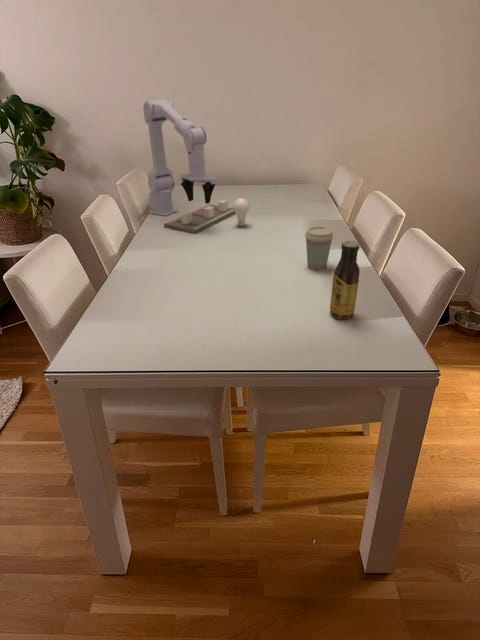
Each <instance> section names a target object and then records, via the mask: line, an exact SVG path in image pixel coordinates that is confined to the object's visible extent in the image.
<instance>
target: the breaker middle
mask: <svg viewBox="0 0 480 640" xmlns="http://www.w3.org/2000/svg"><path fill="white" fill-rule="evenodd" d="M212 217H214V207H211V206H208V207H206V208H204V218H208V219H210V218H212Z"/></svg>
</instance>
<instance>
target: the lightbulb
mask: <svg viewBox="0 0 480 640" xmlns="http://www.w3.org/2000/svg"><path fill="white" fill-rule="evenodd" d="M232 208H233V210H234V212H235V213H236V214H235V215H236V218H237V225H238V226H239V227H241V228H242V227H244V226H245V225H246V216H247V214H248V212H249V211H250V203H249V201H248V200H247V199H246V198H243V197H239V198H237V199H235V200H234V202H233V204H232Z"/></svg>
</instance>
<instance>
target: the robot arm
mask: <svg viewBox="0 0 480 640" xmlns="http://www.w3.org/2000/svg"><path fill="white" fill-rule="evenodd" d="M142 109H143V117H144V122H145V124H147V126H148V133H149V140H150V141H149V142H150V148H151V154H152V155H151V157H152V164H153V168H152V169H151V170H150V171H149V172H148V174H147V175H148V179H147V185H148V188H149V190H150V191H149V193H148V205H149V211H148V213H149V214H154V215H158V216H164V217H166V216H169V215H171V214H174V213H175V212H178V209H174V207H173V199H172V198H173V197H172V192H173V189H174V188H175V186H176V181H175V180H176V179H175V177H174V175H173V171H172V170H171V169H170V168H168V167H167V161H166V154H165V153H166V152H165V143H164V136H163V127H162V126H163V124H164V123H165V122H166V121H170V122H171V123H172V124H173V126H174V130H175V131H176V132H177V133H178V134H180V136H181V137H182V139H183V143H184V144H185V150H186V152H187V159H188V171H189V172H188V173H189V174H184V173H183V174H181V175H179V179H180V181H182V182H180V184H181V186H182V188H183V190H184V191H185V193H186V197H187V200H188V202H191V201H194V185H195V183H202V185H201V186H202V189H203V194H204V202H205V204H206V205H208V204H211V199H212V194H213V191H214V189H215V187H216V184H217V183H216V182H217V178H216V177H214V176H208V175H206V165H205V164H206V163H205V162H206V161H205V149H204V147H205V144H206V143H207V133H206V131H205V129H204V127H203V126H196V125H195V124H194V123H193V122H192V121H191V120H189V118H188V117H187V116H186V115H185V116H184V115H182V116H181V115H180V114H179V113H178V111H177V110H176V109H175V106H174V103H173V102H172V101H171V99H169V98H165V99H155V100H154V99H153V100H149V99H147V100H145V101H144V104H143V108H142Z"/></svg>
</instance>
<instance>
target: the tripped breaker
mask: <svg viewBox="0 0 480 640" xmlns="http://www.w3.org/2000/svg"><path fill="white" fill-rule="evenodd" d="M180 217H182V224H186V225H187V224H189V223H191V222H192V211H185V212H183V213H181V215H180Z"/></svg>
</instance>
